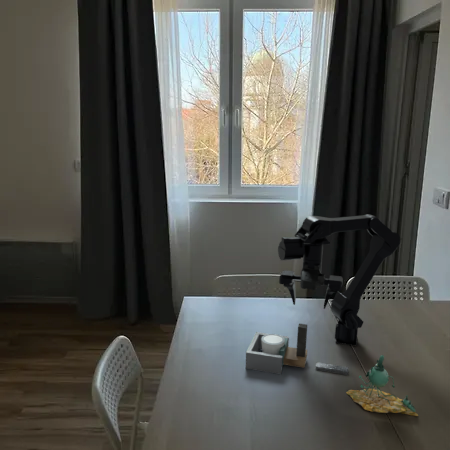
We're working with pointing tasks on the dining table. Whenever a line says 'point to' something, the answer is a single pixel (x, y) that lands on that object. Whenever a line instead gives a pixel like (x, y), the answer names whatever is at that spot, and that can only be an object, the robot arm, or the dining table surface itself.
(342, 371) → the rail
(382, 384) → the gold and teal figure
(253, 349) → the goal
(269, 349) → the white cylinder
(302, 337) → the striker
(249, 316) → the dining table surface
